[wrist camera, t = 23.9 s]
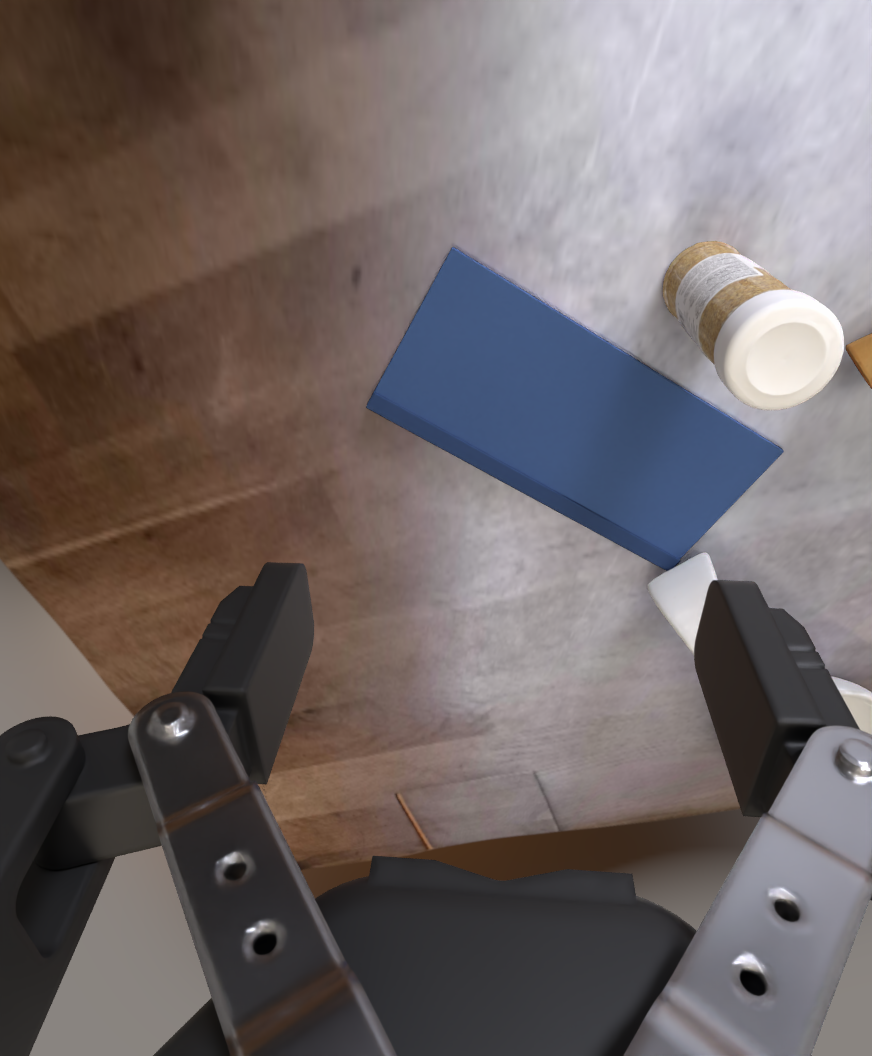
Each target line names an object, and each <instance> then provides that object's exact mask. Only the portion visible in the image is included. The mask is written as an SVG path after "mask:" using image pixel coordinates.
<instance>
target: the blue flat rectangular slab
mask: <svg viewBox="0 0 872 1056" xmlns="http://www.w3.org/2000/svg"><path fill="white" fill-rule="evenodd" d="M366 408H368V409H370V410H371V411H373V412H375V413H377V414H379V415H381V416H382V417H384V418H386V419H388V420H390V421H392V422H394V423H395V424H397V425H399V426H401V427H403V428H405V429H406V430H408V431H410V432H412V433H414V434H416V435H417V436H419V437H421V438H423V439H425V440H427V441H429V442H430V443H432V444H434V445H436V446H438V447H440V448H441V449H443V450H445V451H447V452H449V453H451V454H452V455H454V456H456V457H458V458H460V459H462V460H464V461H465V462H467V463H469V464H471V465H473V466H475V467H476V468H478V469H480V470H482V471H484V472H486V473H488V474H489V475H491V476H493V477H495V478H497V479H499V480H500V481H502V482H504V483H506V484H508V485H510V486H511V487H513V488H515V489H517V490H519V491H521V492H523V493H524V494H526V495H528V496H530V497H532V498H534V499H535V500H537V501H539V502H541V503H543V504H545V505H546V506H548V507H550V508H552V509H554V510H556V511H558V512H559V513H561V514H563V515H565V516H567V517H569V518H570V519H572V520H574V521H576V522H578V523H580V524H582V525H583V526H585V527H587V528H589V529H591V530H593V531H594V532H596V533H598V534H600V535H602V536H604V537H605V538H607V539H609V540H611V541H613V542H615V543H617V544H618V545H620V546H622V547H624V548H626V549H628V550H629V551H631V552H633V553H635V554H637V555H639V556H640V557H642V558H644V559H646V560H648V561H650V562H652V563H653V564H655V565H657V566H659V567H661V568H663V569H664V570H666V571H669V570H670V569H672V568H674V567H675V566H676V565H677V564H678V563H679V562H680V559H681V558H682V556H683V555H684V554H685V553H686V552H687V551H688V550H689V549H690V548H691V547H692V546H693V545H694V544H695V543H696V542H697V541H698V540H699V539H700V538H701V537H702V536H703V535H704V534H705V533H706V532H707V531H708V530H709V529H710V527H711V526H712V525H713V524H714V523H715V522H716V521H717V520H718V519H719V518H720V517H721V516H722V515H723V514H724V513H725V512H726V511H727V510H728V509H729V508H730V507H731V506H732V505H733V504H734V503H735V502H736V501H737V500H738V498H739V497H740V496H741V495H742V494H743V493H744V492H745V491H746V490H747V489H748V488H749V487H750V486H751V485H752V484H753V483H754V482H755V481H756V480H757V479H758V478H759V477H760V476H761V475H762V474H763V473H764V472H765V471H766V470H767V468H768V467H769V466H770V465H771V464H772V463H773V462H774V461H775V460H776V459H777V458H778V457H779V456H780V455H781V454H782V453H783V452H784V451H783V450H782V448H780V447H778V446H777V445H775V444H773V443H772V442H770V441H769V440H767V439H765V438H764V437H762V436H760V435H759V434H757V433H755V432H754V431H752V430H751V429H749V428H747V427H746V426H744V425H742V424H741V423H739V422H738V421H736V420H734V419H733V418H731V417H729V416H728V415H726V414H725V413H723V412H721V411H720V410H718V409H716V408H715V407H713V406H711V405H710V404H708V403H707V402H705V401H703V400H702V399H700V398H698V397H697V396H695V395H694V394H692V393H690V392H689V391H687V390H685V389H684V388H682V387H680V386H679V385H677V384H676V383H674V382H672V381H671V380H669V379H667V378H666V377H664V376H663V375H661V374H659V373H658V372H656V371H654V370H653V369H651V368H650V367H648V366H646V365H645V364H643V363H641V362H640V361H638V360H636V359H635V358H633V357H632V356H630V355H628V354H627V353H625V352H623V351H622V350H620V349H619V348H617V347H615V346H614V345H612V344H610V343H609V342H607V341H605V340H604V339H602V338H601V337H599V336H597V335H596V334H594V333H592V332H591V331H589V330H588V329H586V328H584V327H583V326H581V325H579V324H578V323H576V322H575V321H573V320H571V319H570V318H568V317H566V316H565V315H563V314H561V313H560V312H558V311H557V310H555V309H553V308H552V307H550V306H548V305H547V304H545V303H544V302H542V301H540V300H539V299H537V298H535V297H534V296H532V295H531V294H529V293H527V292H526V291H524V290H522V289H521V288H519V287H517V286H516V285H514V284H513V283H511V282H509V281H508V280H506V279H504V278H503V277H501V276H500V275H498V274H496V273H495V272H493V271H491V270H490V269H488V268H486V267H485V266H483V265H482V264H480V263H478V262H477V261H475V260H473V259H472V258H470V257H469V256H467V255H465V254H464V253H462V252H460V251H459V250H457V249H456V248H454V247H452V249H451V251H450V252H449V254H448V256H447V258H446V260H445V262H444V264H443V265H442V267H441V269H440V271H439V273H438V275H437V276H436V278H435V280H434V282H433V284H432V286H431V287H430V289H429V291H428V293H427V295H426V297H425V299H424V300H423V302H422V304H421V306H420V308H419V310H418V311H417V313H416V315H415V317H414V319H413V321H412V323H411V324H410V326H409V328H408V330H407V332H406V334H405V335H404V337H403V339H402V341H401V343H400V345H399V346H398V348H397V350H396V352H395V354H394V356H393V358H392V359H391V361H390V363H389V365H388V367H387V369H386V370H385V372H384V374H383V376H382V378H381V380H380V382H379V383H378V385H377V387H376V389H375V391H374V393H373V394H372V396H371V398H370V400H369V402H368V404H367V406H366Z"/></svg>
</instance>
